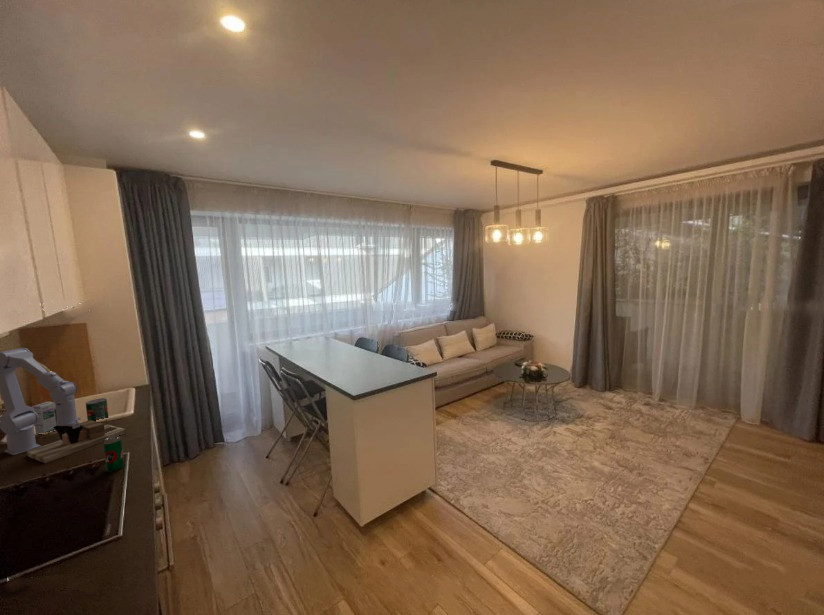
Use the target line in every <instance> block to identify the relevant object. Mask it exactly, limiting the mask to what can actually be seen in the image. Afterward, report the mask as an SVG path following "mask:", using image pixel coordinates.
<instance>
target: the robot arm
mask: <svg viewBox="0 0 824 615" xmlns="http://www.w3.org/2000/svg"><path fill="white" fill-rule="evenodd" d="M18 368H22V369H24V370H25V371H27V372H29V373H30V374H31V375H33V376H35V377H37V383H38V384H40V385H41V386H43V387H44V388H45V389H46V390H47V391H49V392H50V393H48V394H49V396H50V398H51V399H52V402H54V403H55V404H56V412H57V426H54V427H53V428H54V429H55V430H56V431H55V432H57V434H58V436H59V438H60V440H62V435H63V434H67V435H68V438H69V441H70V443H71V444H74V443H77V442H78V440H79V435H80V432H81V430H82V428H83V425H80V426H79V423H80V422H79V421H80V420H81V417H77V416H78V415H77V409H76V408H77V407H76V400H75V394H76V393H77V392H78V386H77V385H76V383H75V382H74V381H73V382H72V381H69V380H65V379H64V378H62V377H60V376H59V375H58V374H57V373H56V372H54V371H48V370H46V369H45V367H43V366H42V364H40V363H39V362H38V361H37V360H36V359H35V358H34V353H33V352H32V351H31V350H29V349H28V348H26V347H19V348H14V349H9V350H3V351H0V396H1V399H2V402H3V406H4V408H5V410H6V411H4V412H3V413H2V415H1V416H0V430H1V431H2V432H3V433H5V435H6V436H5V437H6V445H7V449H5V450H4V453H7V454H10V455H12V456H16V455H19V454H22V453H25V452H26V451H29V450H32V449H35V448H38V447H41V446H42V445H40V444H38V443H37V442H36V432H35V426H36V425H35V423H37V422H38V419H39V417H38V414H37V413H36V412H35V411H34V408H33V407H32V406H29V405H26V403H25V402H26V401H25V400H24V397H23V393H22V390H21V386H20V384H19V381H18V378H17V376H16V371H17V369H18ZM62 441H63V440H62Z"/></svg>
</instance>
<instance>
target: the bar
mask: <svg viewBox="0 0 824 615" xmlns="http://www.w3.org/2000/svg"><path fill="white" fill-rule="evenodd" d="M85 439H87V432H86V429H84V428H82V430H81V432H80V435H79V440H78V442H79V441H82V440H85ZM62 440H63V444H66V445H70V444H71V443H70V441H69V438H68V435H67V434H63V435H62Z"/></svg>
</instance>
